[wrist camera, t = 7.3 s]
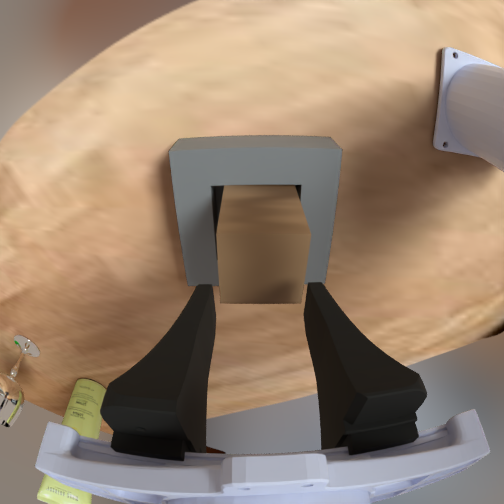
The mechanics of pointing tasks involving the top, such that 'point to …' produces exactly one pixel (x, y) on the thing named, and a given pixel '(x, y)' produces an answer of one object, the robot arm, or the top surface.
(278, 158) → the socket block
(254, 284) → the walnut peg
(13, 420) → the wineglass
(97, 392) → the tube
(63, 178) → the top surface
